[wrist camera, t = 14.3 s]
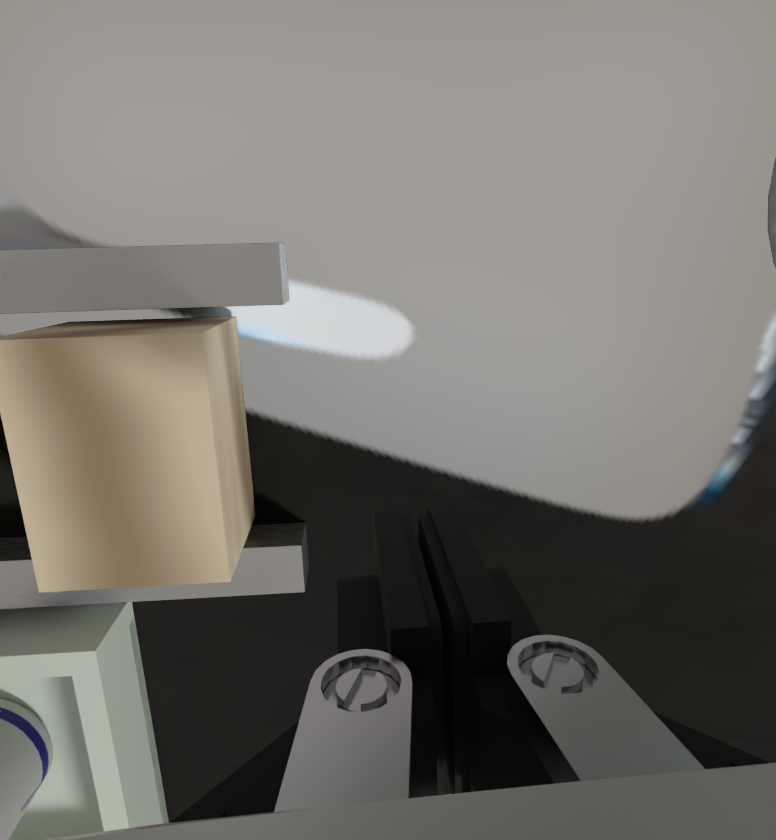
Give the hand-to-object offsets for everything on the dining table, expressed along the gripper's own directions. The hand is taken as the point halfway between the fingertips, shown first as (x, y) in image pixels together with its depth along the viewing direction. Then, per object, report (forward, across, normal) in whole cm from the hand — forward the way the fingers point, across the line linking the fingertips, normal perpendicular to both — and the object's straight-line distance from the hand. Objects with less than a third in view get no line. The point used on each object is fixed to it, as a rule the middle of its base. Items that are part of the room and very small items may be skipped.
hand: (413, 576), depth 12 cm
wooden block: (+12, +8, 0) cm, 14 cm away
